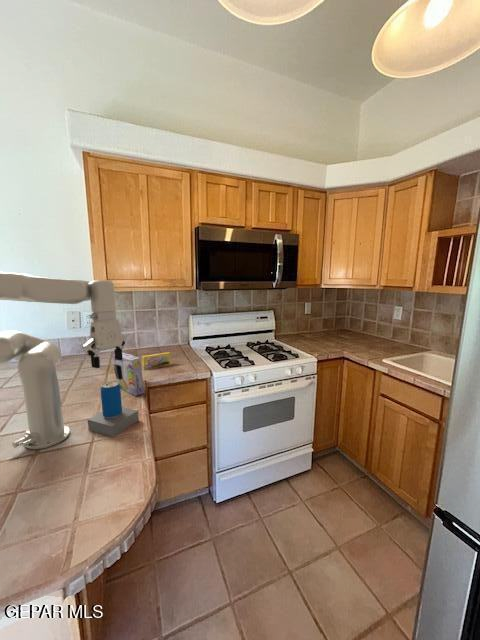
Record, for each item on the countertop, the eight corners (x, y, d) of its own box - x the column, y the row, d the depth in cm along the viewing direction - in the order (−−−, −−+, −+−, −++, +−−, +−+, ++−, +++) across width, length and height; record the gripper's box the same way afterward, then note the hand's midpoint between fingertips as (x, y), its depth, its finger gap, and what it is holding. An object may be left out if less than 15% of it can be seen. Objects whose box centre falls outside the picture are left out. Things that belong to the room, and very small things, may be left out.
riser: (112, 437, 93) (111, 426, 92) (88, 429, 97) (87, 419, 97) (138, 420, 104) (137, 410, 103) (115, 414, 108) (114, 405, 108)
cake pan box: (115, 387, 136) (112, 353, 133) (124, 383, 140) (121, 350, 137) (134, 397, 124) (132, 360, 121) (144, 393, 128) (142, 357, 125)
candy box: (143, 370, 161) (142, 356, 159) (142, 369, 162) (142, 356, 161) (170, 365, 169) (169, 352, 168) (169, 364, 171) (168, 351, 170)
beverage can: (117, 409, 104) (114, 379, 102) (125, 414, 100) (123, 383, 98) (99, 415, 99) (96, 384, 97) (108, 421, 95) (105, 389, 93)
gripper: (89, 320, 85) (93, 372, 87) (131, 313, 101) (134, 358, 103) (73, 318, 88) (78, 369, 90) (116, 312, 104) (119, 356, 106)
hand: (107, 363), depth 97 cm, fingers open, 9 cm apart
